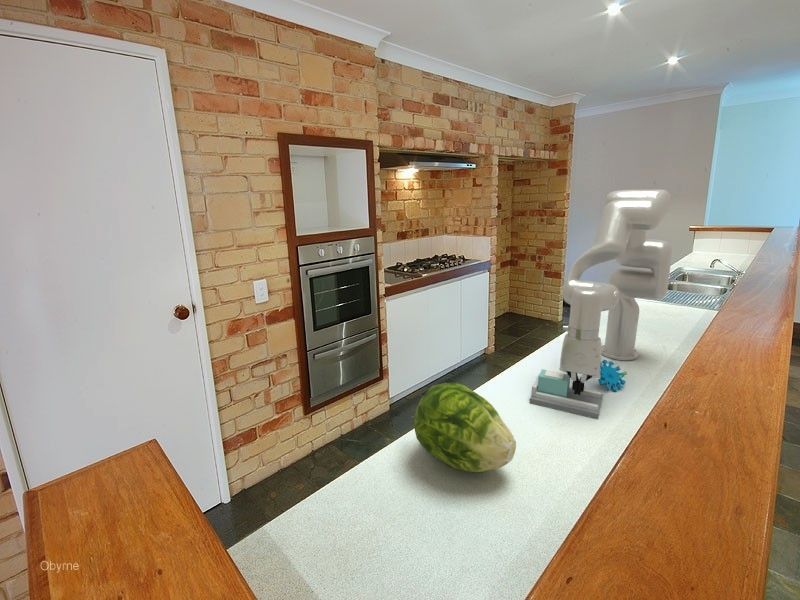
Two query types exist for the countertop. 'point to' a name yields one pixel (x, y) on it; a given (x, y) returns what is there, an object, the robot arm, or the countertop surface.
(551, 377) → the block
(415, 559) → the countertop surface
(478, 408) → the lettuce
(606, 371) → the gear
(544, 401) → the rail base
